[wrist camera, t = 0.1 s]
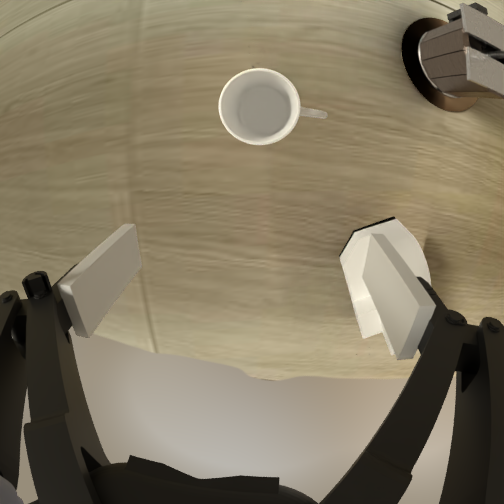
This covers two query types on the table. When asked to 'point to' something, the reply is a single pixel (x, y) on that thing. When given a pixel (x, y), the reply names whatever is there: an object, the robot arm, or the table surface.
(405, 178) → the table surface
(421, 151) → the table surface
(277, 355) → the table surface
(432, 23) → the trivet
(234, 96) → the mug
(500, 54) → the plunger
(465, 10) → the wooden tankard
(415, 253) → the tape dispenser
